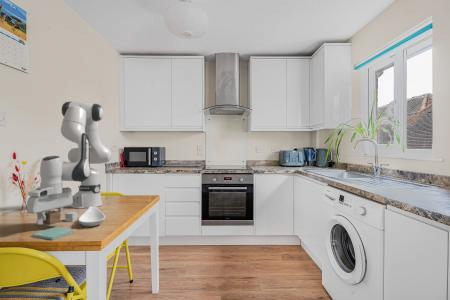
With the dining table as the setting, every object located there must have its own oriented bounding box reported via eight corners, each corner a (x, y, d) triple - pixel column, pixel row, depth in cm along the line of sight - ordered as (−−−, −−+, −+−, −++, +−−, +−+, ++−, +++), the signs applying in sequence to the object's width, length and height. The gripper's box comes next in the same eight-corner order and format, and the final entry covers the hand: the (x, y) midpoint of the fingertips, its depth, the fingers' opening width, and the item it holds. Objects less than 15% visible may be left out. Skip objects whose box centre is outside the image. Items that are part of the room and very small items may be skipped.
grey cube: (65, 221, 131) (65, 213, 131) (70, 219, 135) (70, 212, 135) (72, 221, 131) (72, 214, 131) (77, 219, 135) (77, 212, 135)
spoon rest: (105, 227, 122) (105, 212, 122) (77, 230, 117) (77, 215, 117) (104, 215, 143) (104, 203, 143) (80, 218, 138) (80, 205, 138)
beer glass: (33, 226, 123) (33, 195, 123) (36, 222, 129) (36, 193, 129) (50, 224, 126) (50, 194, 126) (52, 221, 132) (52, 192, 132)
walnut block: (42, 223, 120) (42, 213, 120) (53, 220, 125) (53, 210, 125) (50, 224, 118) (50, 214, 118) (60, 221, 123) (60, 211, 123)
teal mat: (32, 236, 108) (32, 234, 108) (55, 229, 118) (55, 227, 118) (52, 239, 104) (52, 237, 104) (74, 232, 114) (74, 230, 114)
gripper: (66, 186, 132) (67, 212, 132) (24, 192, 113) (24, 223, 113) (75, 186, 130) (75, 213, 130) (33, 193, 111) (34, 225, 111)
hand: (51, 218), depth 122 cm, fingers closed on walnut block, 5 cm apart
